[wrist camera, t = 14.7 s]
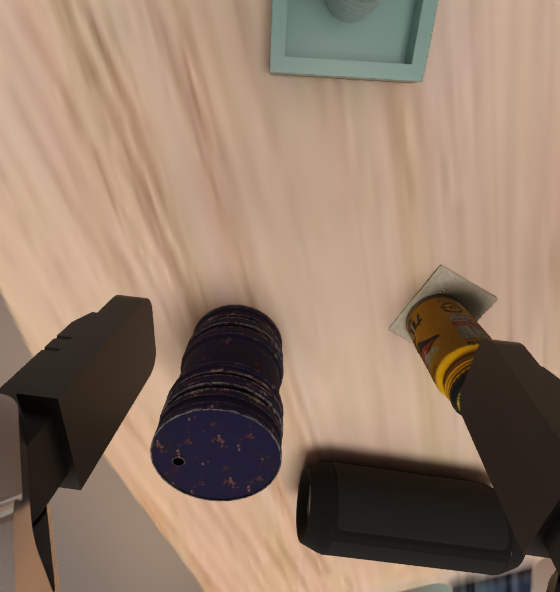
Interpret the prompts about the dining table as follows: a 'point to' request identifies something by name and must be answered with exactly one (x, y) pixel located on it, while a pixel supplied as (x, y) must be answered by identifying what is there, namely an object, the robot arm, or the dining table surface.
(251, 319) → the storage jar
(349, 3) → the pin
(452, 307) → the condiment
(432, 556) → the portable speaker
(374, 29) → the tray
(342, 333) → the dining table surface
